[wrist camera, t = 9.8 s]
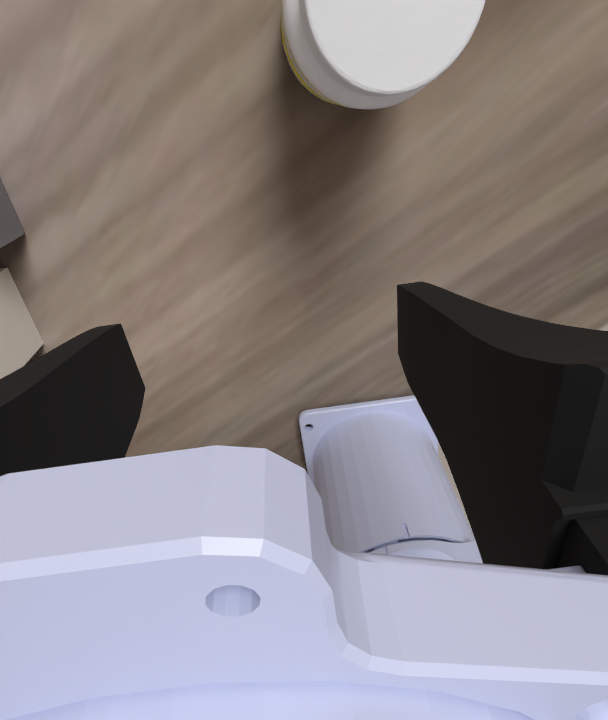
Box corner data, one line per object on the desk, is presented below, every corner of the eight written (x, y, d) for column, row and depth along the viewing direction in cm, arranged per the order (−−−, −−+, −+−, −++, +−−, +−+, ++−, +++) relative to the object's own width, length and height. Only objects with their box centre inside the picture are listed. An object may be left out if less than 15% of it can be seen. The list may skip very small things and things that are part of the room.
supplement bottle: (422, -43, 16) (551, -156, 8) (393, 111, 18) (474, 127, 11) (284, -66, 15) (296, -205, 8) (274, 96, 17) (276, 102, 10)
